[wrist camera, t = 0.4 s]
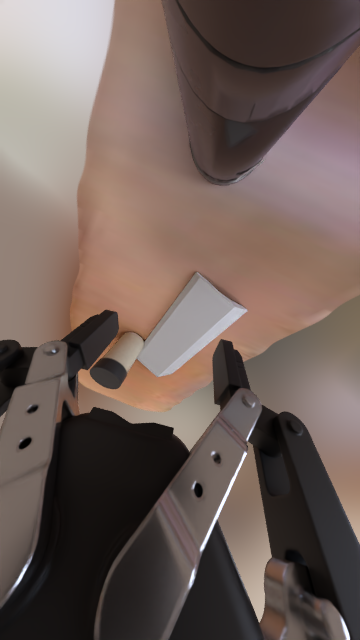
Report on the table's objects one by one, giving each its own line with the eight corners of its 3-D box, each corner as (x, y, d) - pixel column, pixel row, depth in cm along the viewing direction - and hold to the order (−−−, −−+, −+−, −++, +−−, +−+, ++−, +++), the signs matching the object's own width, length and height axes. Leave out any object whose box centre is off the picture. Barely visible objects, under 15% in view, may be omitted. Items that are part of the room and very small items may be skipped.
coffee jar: (121, 329, 37) (89, 362, 27) (145, 336, 36) (120, 372, 27) (122, 346, 40) (94, 380, 31) (144, 353, 40) (121, 389, 31)
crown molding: (197, 272, 25) (196, 278, 23) (246, 308, 28) (251, 318, 25) (137, 353, 41) (131, 363, 38) (172, 372, 44) (169, 383, 41)
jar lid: (96, 353, 29) (86, 362, 27) (126, 363, 28) (119, 373, 26) (100, 373, 33) (92, 383, 31) (127, 382, 32) (121, 392, 30)
